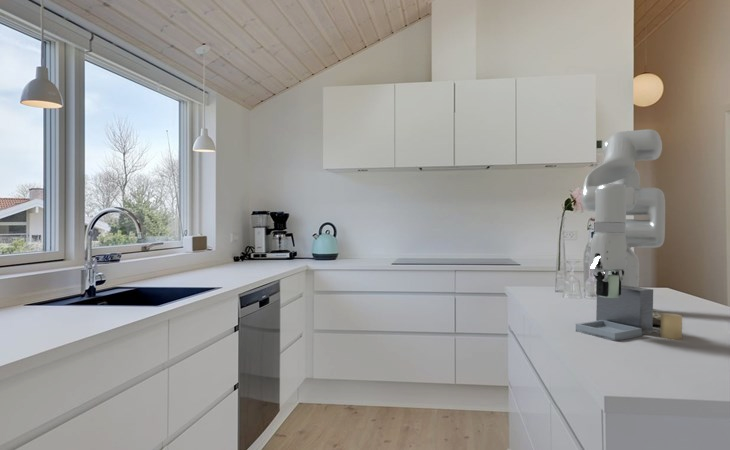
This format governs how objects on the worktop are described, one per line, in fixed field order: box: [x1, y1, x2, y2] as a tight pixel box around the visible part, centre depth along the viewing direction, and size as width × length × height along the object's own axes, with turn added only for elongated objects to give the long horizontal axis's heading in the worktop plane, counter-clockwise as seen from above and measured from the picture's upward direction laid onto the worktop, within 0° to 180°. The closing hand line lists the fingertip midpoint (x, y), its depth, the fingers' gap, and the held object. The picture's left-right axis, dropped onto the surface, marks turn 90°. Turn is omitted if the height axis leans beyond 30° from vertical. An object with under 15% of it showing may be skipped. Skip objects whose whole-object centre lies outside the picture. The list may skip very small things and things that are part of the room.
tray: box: [575, 320, 642, 342], centre depth 126 cm, size 12×12×2 cm
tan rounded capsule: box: [659, 312, 683, 341], centre depth 123 cm, size 5×5×6 cm
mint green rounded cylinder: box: [599, 274, 619, 298], centre depth 126 cm, size 5×5×6 cm
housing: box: [595, 285, 657, 335], centre depth 133 cm, size 8×14×12 cm, turn 28°
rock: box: [653, 309, 662, 327], centre depth 139 cm, size 11×11×4 cm
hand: (608, 294), depth 126 cm, fingers closed on mint green rounded cylinder, 4 cm apart
